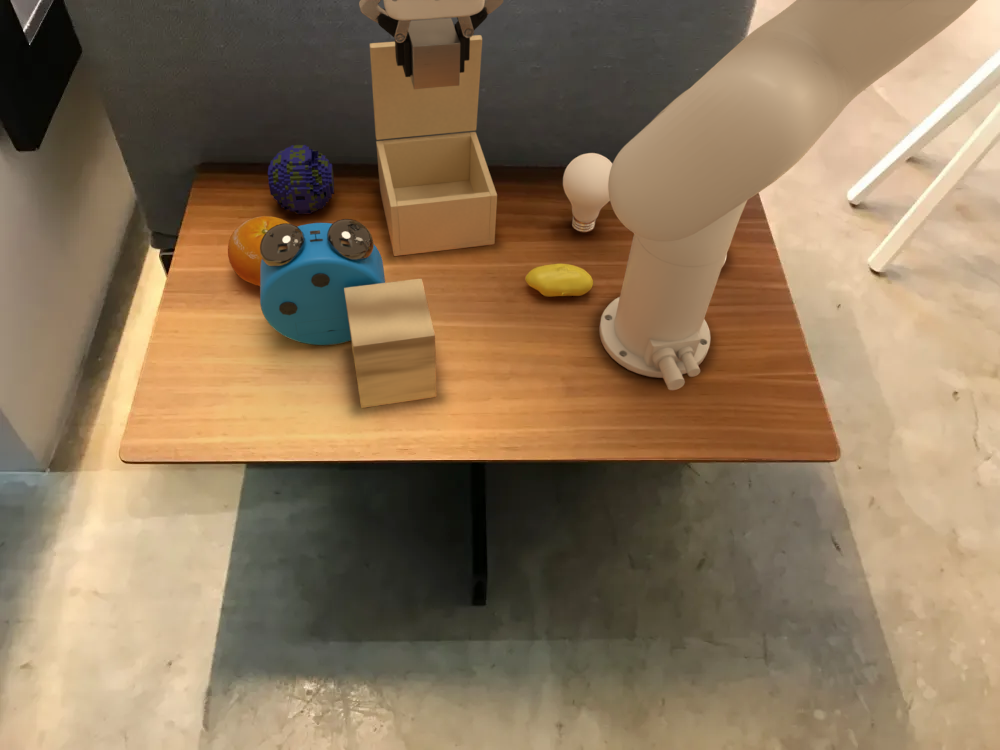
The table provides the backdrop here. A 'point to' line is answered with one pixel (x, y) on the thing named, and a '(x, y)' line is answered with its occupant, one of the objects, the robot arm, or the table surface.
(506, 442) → the table surface
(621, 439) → the table surface
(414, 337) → the block
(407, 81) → the wooden box lid
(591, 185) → the light bulb
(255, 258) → the fruit
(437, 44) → the steel block
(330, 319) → the alarm clock
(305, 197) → the ball
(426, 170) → the open storage bin
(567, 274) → the yellow potato
